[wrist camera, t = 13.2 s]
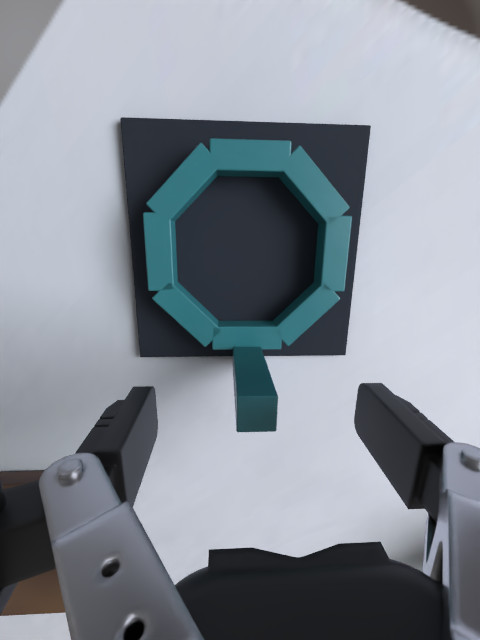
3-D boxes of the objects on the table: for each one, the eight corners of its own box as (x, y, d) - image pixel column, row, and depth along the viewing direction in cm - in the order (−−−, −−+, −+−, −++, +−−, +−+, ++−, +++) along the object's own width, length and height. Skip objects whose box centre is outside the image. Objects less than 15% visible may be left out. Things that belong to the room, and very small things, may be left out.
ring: (144, 145, 15) (78, 64, 8) (348, 151, 16) (444, 79, 9) (159, 363, 18) (119, 435, 11) (328, 362, 19) (387, 429, 12)
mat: (122, 120, 15) (120, 117, 15) (367, 128, 16) (371, 125, 15) (141, 354, 18) (140, 357, 18) (343, 353, 19) (345, 355, 19)
